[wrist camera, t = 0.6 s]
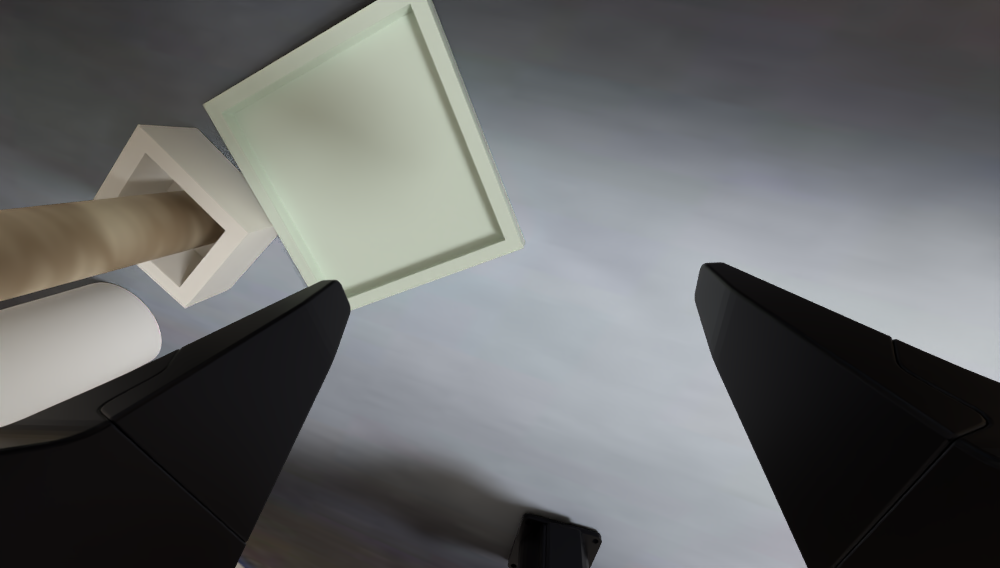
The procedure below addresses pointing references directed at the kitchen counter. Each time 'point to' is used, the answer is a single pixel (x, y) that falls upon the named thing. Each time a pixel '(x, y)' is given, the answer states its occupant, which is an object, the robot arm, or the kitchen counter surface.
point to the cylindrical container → (71, 346)
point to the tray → (371, 155)
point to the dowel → (96, 238)
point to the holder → (214, 186)
